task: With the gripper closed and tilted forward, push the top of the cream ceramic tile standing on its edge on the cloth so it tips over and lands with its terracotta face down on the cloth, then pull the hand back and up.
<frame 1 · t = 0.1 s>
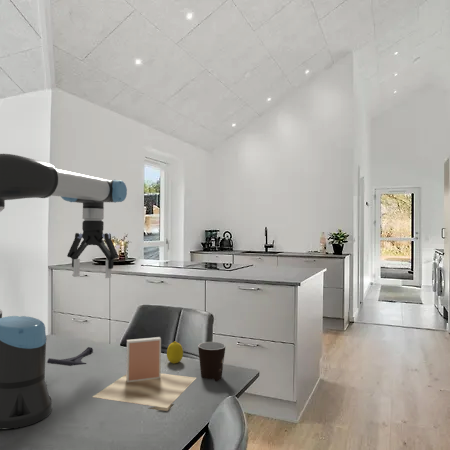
hand: (92, 277, 150), 28 cm above the table, tool pointing down, fingers open, 13 cm apart
lemon: (174, 365, 137), on the table
dark grey forked piece: (79, 360, 143), on the table
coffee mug: (214, 376, 127), on the table
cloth: (147, 389, 116), on the table
tile: (143, 378, 122), point 1 cm above the table, touching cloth
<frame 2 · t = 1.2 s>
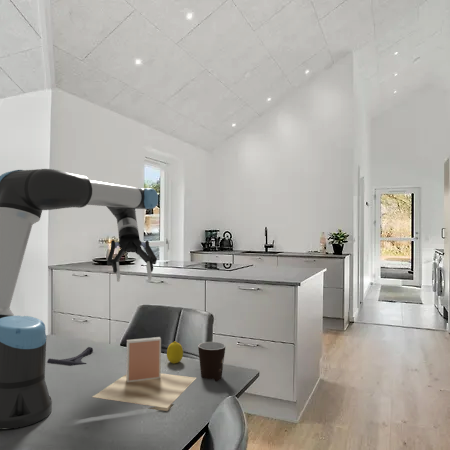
hand: (134, 278, 139), 29 cm above the table, tool tilted 45°, fingers open, 10 cm apart
nothing on the table moved.
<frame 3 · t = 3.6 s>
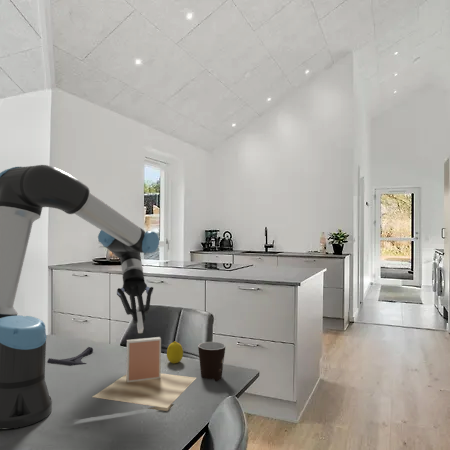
hand: (140, 330, 132), 13 cm above the table, tool tilted 45°, fingers closed
nothing on the table moved.
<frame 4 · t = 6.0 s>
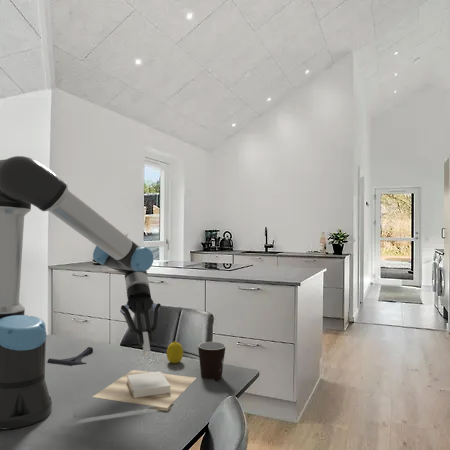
hand: (147, 353, 119), 9 cm above the table, tool tilted 45°, fingers closed
tile: (144, 376, 121), point 2 cm above the table, tilted 90°, touching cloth
everything else where it was.
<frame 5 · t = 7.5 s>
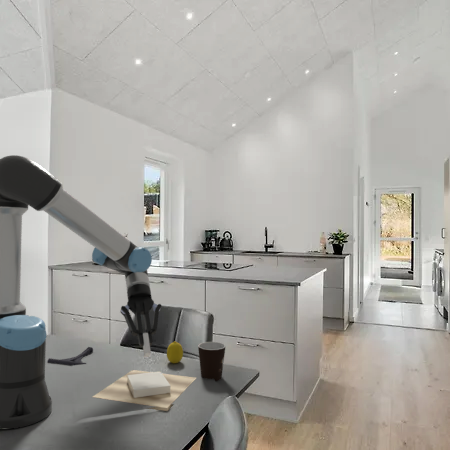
hand: (147, 355, 117), 10 cm above the table, tool tilted 45°, fingers closed
nothing on the table moved.
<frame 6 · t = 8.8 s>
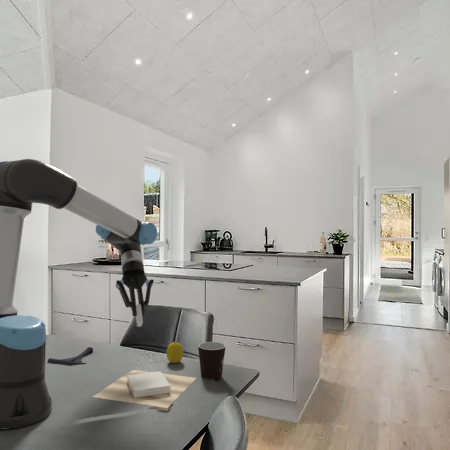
hand: (139, 323, 128), 16 cm above the table, tool tilted 45°, fingers closed
nothing on the table moved.
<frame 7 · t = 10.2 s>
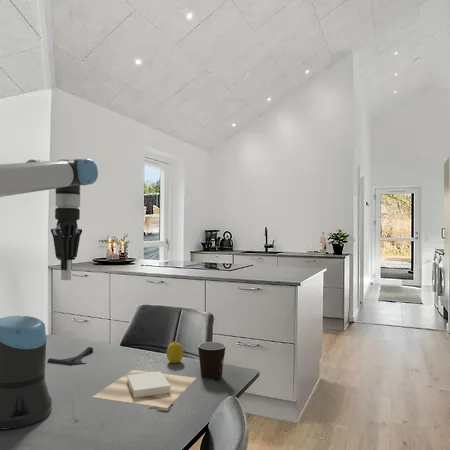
hand: (66, 279, 131), 29 cm above the table, tool pointing down, fingers closed
nothing on the table moved.
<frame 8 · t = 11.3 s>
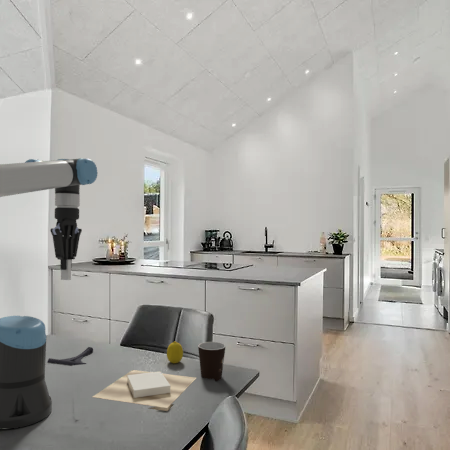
hand: (65, 279, 131), 29 cm above the table, tool pointing down, fingers closed
nothing on the table moved.
at the end: tile tilted 90°; tile inside the target area (4.5 cm from its centre), point 1.9 cm above the table; the gripper is holding nothing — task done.
